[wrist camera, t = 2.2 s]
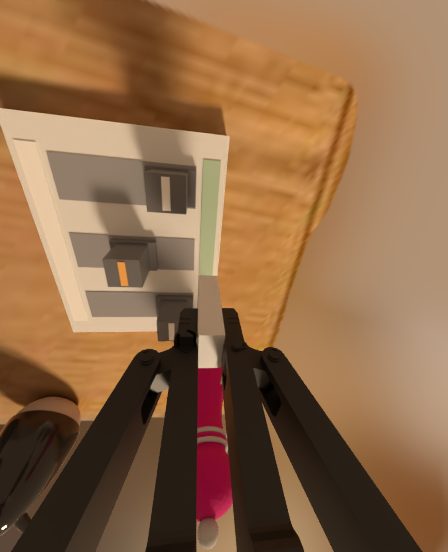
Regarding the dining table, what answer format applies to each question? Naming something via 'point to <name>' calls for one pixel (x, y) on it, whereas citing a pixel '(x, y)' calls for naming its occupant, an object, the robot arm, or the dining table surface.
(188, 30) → the dining table surface
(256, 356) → the robot arm
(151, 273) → the panel
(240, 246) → the dining table surface
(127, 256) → the breaker
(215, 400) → the pepper mill
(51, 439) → the black glossy egg shape
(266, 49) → the dining table surface
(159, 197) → the breaker
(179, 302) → the breaker
